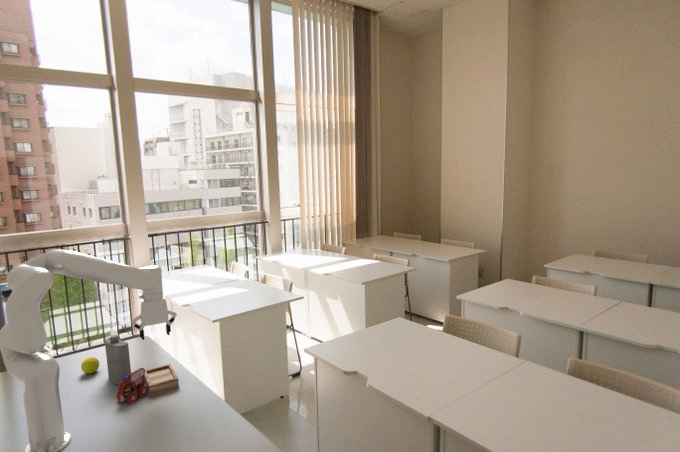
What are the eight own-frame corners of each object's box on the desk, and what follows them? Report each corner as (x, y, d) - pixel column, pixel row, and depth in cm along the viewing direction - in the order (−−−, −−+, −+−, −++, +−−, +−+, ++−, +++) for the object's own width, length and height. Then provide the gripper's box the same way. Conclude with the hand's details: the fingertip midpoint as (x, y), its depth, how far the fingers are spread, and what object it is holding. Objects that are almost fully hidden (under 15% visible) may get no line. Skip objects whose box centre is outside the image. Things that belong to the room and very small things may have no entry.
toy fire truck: (112, 404, 163) (109, 379, 161) (139, 389, 174) (136, 365, 173) (125, 407, 160) (122, 382, 159) (151, 392, 171) (149, 367, 170)
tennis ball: (80, 372, 190) (78, 358, 189) (97, 367, 195) (96, 353, 194) (84, 377, 185) (82, 362, 184) (101, 372, 190) (100, 357, 189)
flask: (105, 378, 184) (100, 334, 182) (118, 372, 189) (114, 330, 186) (119, 388, 175) (115, 342, 172) (134, 382, 179) (129, 337, 177)
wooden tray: (179, 388, 173) (178, 378, 173) (150, 396, 167) (149, 386, 167) (171, 373, 187) (170, 363, 186) (144, 380, 181) (143, 370, 180)
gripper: (130, 301, 164) (133, 343, 166) (177, 294, 173) (179, 334, 175) (128, 297, 171) (131, 338, 172) (173, 290, 180) (175, 329, 182)
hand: (155, 336), depth 174 cm, fingers open, 9 cm apart
